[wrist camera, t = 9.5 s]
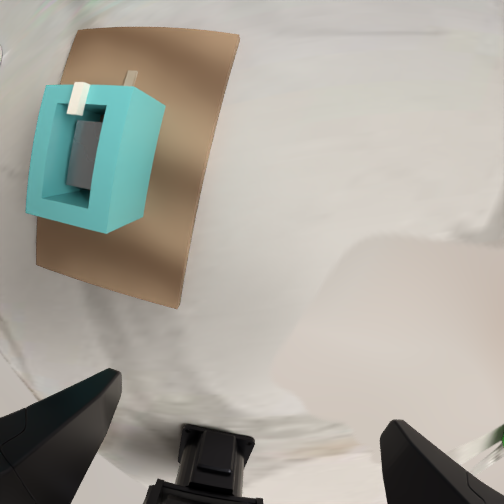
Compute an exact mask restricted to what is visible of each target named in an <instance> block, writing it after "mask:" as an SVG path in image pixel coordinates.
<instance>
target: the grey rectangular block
mask: <svg viewBox="0 0 504 504" xmlns="http://www.w3.org/2000/svg"><path fill="white" fill-rule="evenodd" d="M102 124H103V122H93V121H82V120H77V124H76V129H75V134H74V139H73V144H72V149H71V155H70V161H69V167H68V174H67V181H66V185H70V186H75V187H80V188H85V189H90V190H91V183H92V176H93V170H94V164H95V158H96V153H97V148H98V143H99V138H100V133H101V128H102Z"/></svg>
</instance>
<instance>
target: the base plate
mask: <svg viewBox="0 0 504 504" xmlns="http://www.w3.org/2000/svg"><path fill="white" fill-rule="evenodd" d="M239 41H240V37H239V35H237V34H230V33H223V32H215V31H207V30H197V29H185V28H168V27H112V28H96V29H84V30H78V32H77V34H76V37H75V39H74V42H73V45H72V48H71V50H70V53H69V56H68V59H67V62H66V65H65V68H64V72H63V75H62V78H61V82H60V85H74V83H75V82H85V83H88V84H90V85H117V86H134V87H136V88H138V89H139V90H141V91H143V92H144V93H146V94H147V95H149V96H151V97H152V98H154V99H156V100H157V101H159V102H160V103H162V104H164V105H165V106H166V107H165V111H164V115H163V119H162V123H161V127H160V132H159V136H158V140H157V145H156V150H155V154H154V159H153V164H152V169H151V174H150V179H149V185H148V190H147V196H146V202H145V208H144V214H143V217H142V218H140V219H138V220H135V221H133V222H131V223H129V224H127V225H124V226H122V227H120V228H118V229H116V230H114V231H111V232H109V233H107V234H105V233H101V232H97V231H93V230H89V229H85V228H81V227H77V226H74V225H70V224H66V223H62V222H58V221H54V220H50V219H47V218H43V217H39V216H37V239H36V265H38V266H41V267H43V268H46V269H49V270H52V271H55V272H57V273H60V274H63V275H66V276H69V277H72V278H75V279H78V280H81V281H84V282H87V283H90V284H93V285H96V286H99V287H102V288H106V289H109V290H112V291H115V292H119V293H122V294H125V295H129V296H132V297H135V298H139V299H142V300H146V301H149V302H153V303H156V304H160V305H164V306H167V307H171V308H175V309H177V308H178V306H179V305H180V300H181V294H182V288H183V282H184V276H185V270H186V265H187V259H188V254H189V248H190V243H191V238H192V232H193V227H194V222H195V217H196V212H197V207H198V203H199V198H200V193H201V189H202V184H203V179H204V175H205V171H206V166H207V162H208V157H209V153H210V149H211V145H212V141H213V137H214V132H215V128H216V124H217V120H218V117H219V113H220V109H221V105H222V101H223V97H224V94H225V90H226V86H227V83H228V79H229V76H230V72H231V69H232V65H233V62H234V58H235V55H236V51H237V48H238V45H239ZM103 119H104V115H101V118H100V122H103ZM88 190H90V189H88Z"/></svg>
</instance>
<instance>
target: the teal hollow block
mask: <svg viewBox="0 0 504 504" xmlns="http://www.w3.org/2000/svg"><path fill="white" fill-rule="evenodd" d="M165 107H166V106H165V105H164V104H162V103H160V102H159V101H157V100H156V99H154V98H152V97H151V96H149V95H147V94H146V93H144V92H143V91H141V90H139V89H138V88H136V87H134V86H117V85H90V84H88V83H85V82H75V83H74V85H46V88H45V91H44V95H43V99H42V103H41V107H40V112H39V116H38V121H37V126H36V131H35V136H34V142H33V148H32V154H31V161H30V169H29V177H28V187H27V198H26V213H28V214H32V215H35V216H39V217H43V218H47V219H50V220H54V221H58V222H62V223H66V224H70V225H74V226H77V227H81V228H85V229H89V230H93V231H97V232H101V233H105V234H107V233H109V232H111V231H114V230H116V229H118V228H120V227H122V226H124V225H127V224H129V223H131V222H133V221H135V220H138V219H140V218H142V217H143V214H144V208H145V202H146V196H147V190H148V185H149V179H150V174H151V169H152V164H153V159H154V154H155V150H156V145H157V140H158V136H159V132H160V127H161V123H162V119H163V115H164V111H165ZM101 115H104V119H103V124H102V128H101V133H100V138H99V143H98V148H97V153H96V158H95V164H94V170H93V176H92V183H91V190H88V189H85V188H80V187H75V186H70V185H66V181H67V174H68V167H69V161H70V155H71V149H72V144H73V139H74V134H75V129H76V124H77V120H82V121H93V122H100V118H101Z"/></svg>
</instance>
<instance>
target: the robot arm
mask: <svg viewBox="0 0 504 504" xmlns="http://www.w3.org/2000/svg"><path fill="white" fill-rule="evenodd" d="M121 393H122V375H121V372H119V371H117V370H114V369H111V368H108V369H106V370H104V371H102V372H99V373H97V374H95V375H93V376H91V377H89V378H87V379H85V380H83V381H81V382H79V383H77V384H75V385H73V386H71V387H68V388H66V389H64V390H62V391H60V392H58V393H56V394H54V395H51V396H49V397H47V398H45V399H43V400H41V401H38V402H36V403H34V404H32V405H30V406H28V407H27V408H23V409H21V410H19V411H16V412H14V413H11V414H9V415H6V416H4V417H1V418H0V504H71V502H72V500H73V498H74V496H75V494H76V492H77V490H78V488H79V486H80V484H81V482H82V480H83V478H84V476H85V474H86V472H87V470H88V468H89V466H90V464H91V462H92V460H93V459H94V457H95V455H96V453H97V451H98V449H99V447H100V445H101V443H102V442H103V440H104V438H105V436H106V434H107V431H108V428H109V426H110V423H111V420H112V418H113V415H114V413H115V410H116V407H117V405H118V402H119V400H120V397H121ZM254 445H255V440H254V439H253V438H251V437H245V436H239V435H234V434H228V433H223V432H218V431H214V430H209V429H205V428H200V427H196V426H192V425H184V427H183V431H182V437H181V444H180V450H179V457H178V462H179V463H180V466H179V470H178V474H177V478H176V482H175V484H173V483H169V482H165V481H164V480H161V479H157V482H156V484H155V485H150V486H149V488H148V492H147V495H146V498H145V500H144V503H143V504H263V498H246V497H242V486H243V470H244V467H245V465H246V463H247V461H248V459H249V456H250V454H251V452H252V449H253V447H254ZM380 449H381V460H382V473H383V480H384V486H385V492H386V498H387V504H504V496H503V495H502V494H500V493H499V492H497V491H495V490H494V489H492V488H490V487H489V486H487V485H486V484H484V483H483V482H481V481H480V480H478V479H477V478H476V477H474V476H473V475H472V474H470V473H469V472H468V471H466V470H465V469H464V468H463V467H461V466H460V465H459V464H457V463H456V462H455V461H454V460H452V459H451V458H450V457H449V456H447V455H446V454H445V453H443V452H442V451H441V450H440V449H438V448H437V447H436V446H435V445H433V444H432V443H431V442H430V441H428V440H427V439H426V438H425V437H423V436H422V435H421V434H420V433H418V432H417V431H416V430H415V429H413V428H412V427H411V426H410V425H408V424H407V423H406V422H405V421H404V420H392V421H390V423H389V424H388V426H387V427H386V429H385V430H384V431H383V433H382V434H381V437H380Z"/></svg>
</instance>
